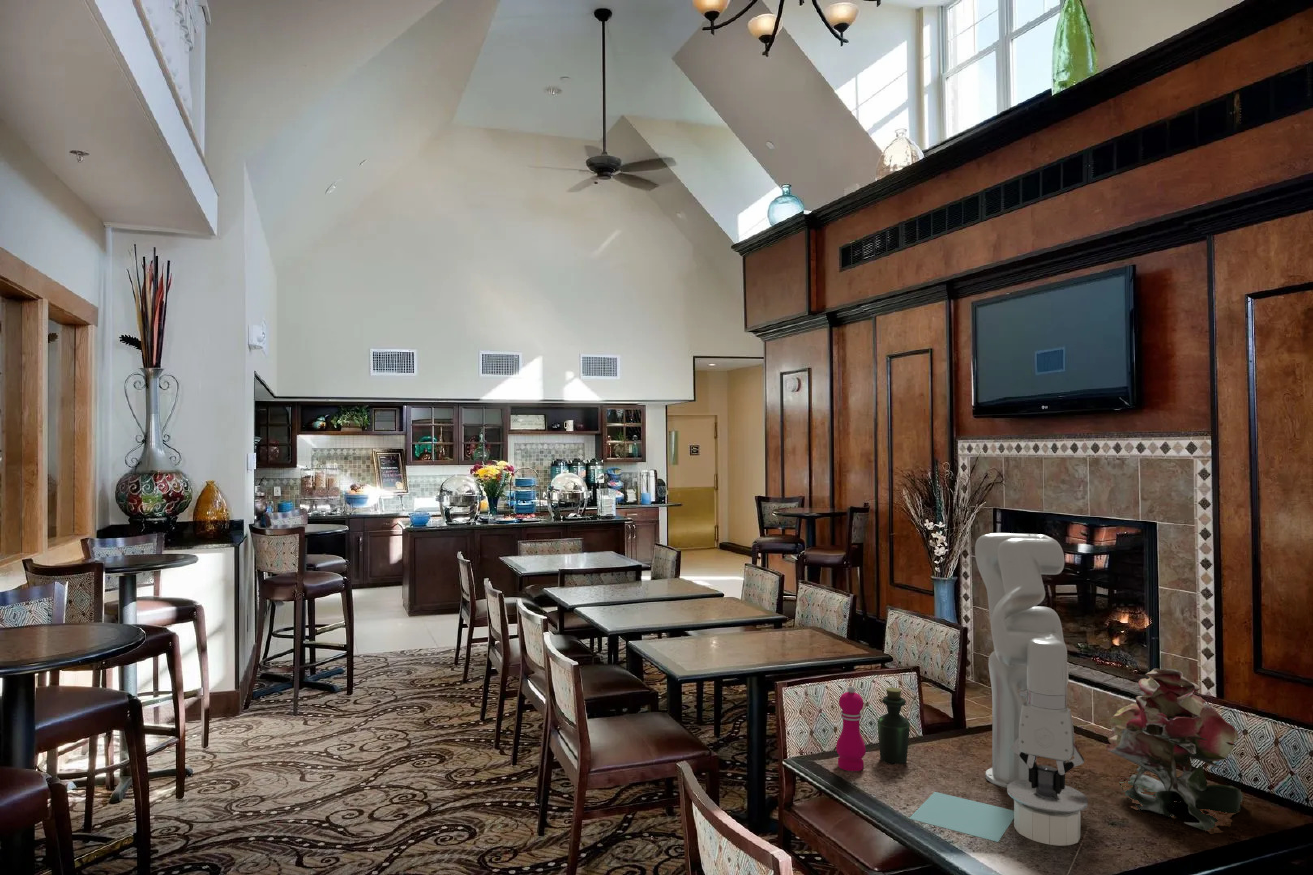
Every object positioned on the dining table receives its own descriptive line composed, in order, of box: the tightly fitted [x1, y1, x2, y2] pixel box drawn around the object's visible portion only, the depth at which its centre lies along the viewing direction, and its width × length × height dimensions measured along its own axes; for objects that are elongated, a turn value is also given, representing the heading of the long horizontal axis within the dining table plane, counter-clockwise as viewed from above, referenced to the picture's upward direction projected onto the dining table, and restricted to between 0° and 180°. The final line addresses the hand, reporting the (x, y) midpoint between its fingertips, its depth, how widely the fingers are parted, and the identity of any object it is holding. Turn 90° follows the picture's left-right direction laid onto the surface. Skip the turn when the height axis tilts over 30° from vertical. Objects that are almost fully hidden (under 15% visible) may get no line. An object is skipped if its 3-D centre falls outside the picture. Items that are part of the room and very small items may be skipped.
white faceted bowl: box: [1013, 799, 1081, 847], centre depth 171 cm, size 12×12×6 cm
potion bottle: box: [876, 687, 911, 766], centre depth 213 cm, size 8×8×18 cm
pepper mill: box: [835, 685, 867, 772], centre depth 208 cm, size 7×7×20 cm
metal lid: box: [1006, 764, 1089, 813], centre depth 172 cm, size 15×15×6 cm
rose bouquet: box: [1105, 667, 1244, 831], centre depth 189 cm, size 26×29×30 cm
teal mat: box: [908, 791, 1014, 843], centre depth 179 cm, size 18×18×1 cm
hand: (1046, 788), depth 172 cm, fingers closed on metal lid, 3 cm apart
